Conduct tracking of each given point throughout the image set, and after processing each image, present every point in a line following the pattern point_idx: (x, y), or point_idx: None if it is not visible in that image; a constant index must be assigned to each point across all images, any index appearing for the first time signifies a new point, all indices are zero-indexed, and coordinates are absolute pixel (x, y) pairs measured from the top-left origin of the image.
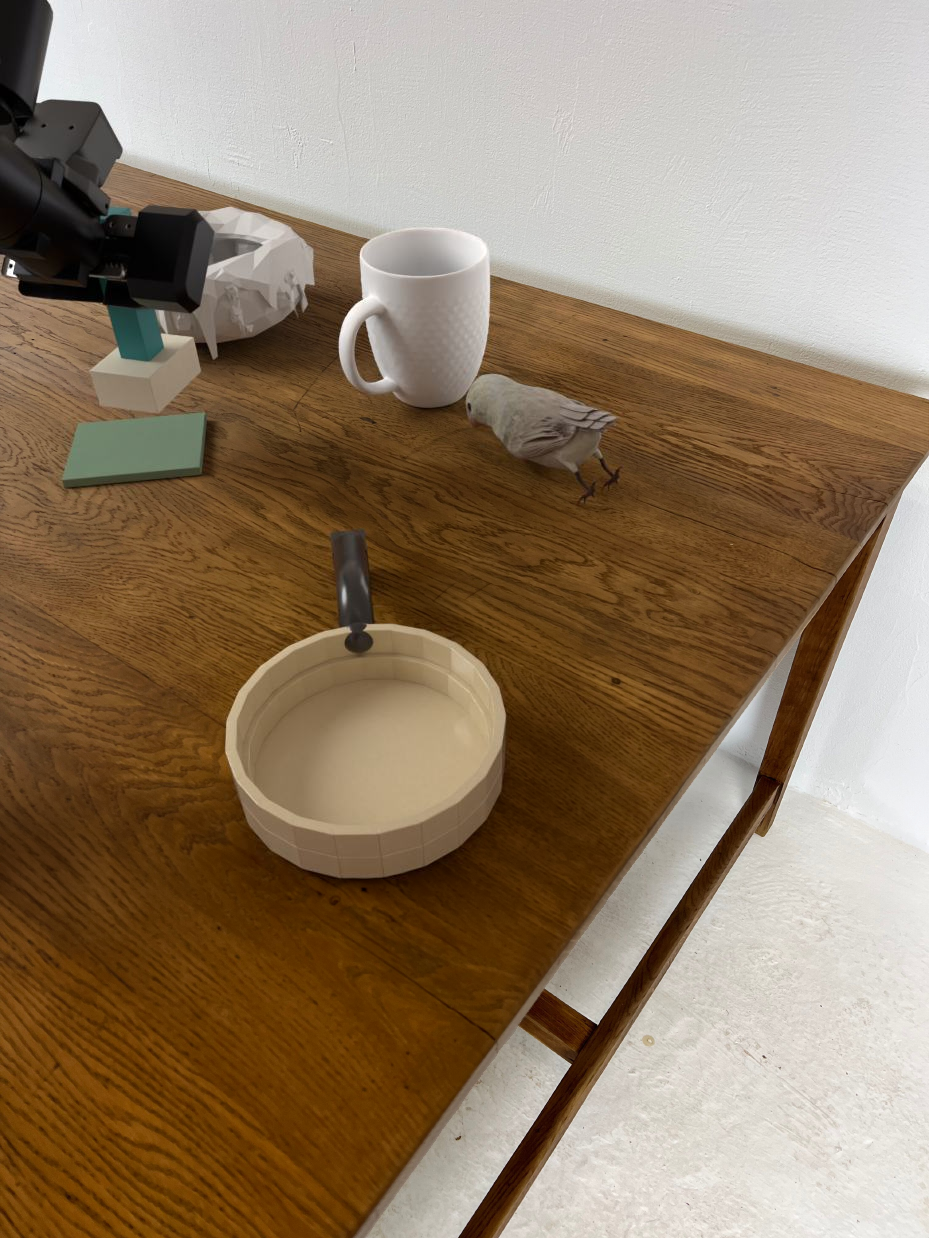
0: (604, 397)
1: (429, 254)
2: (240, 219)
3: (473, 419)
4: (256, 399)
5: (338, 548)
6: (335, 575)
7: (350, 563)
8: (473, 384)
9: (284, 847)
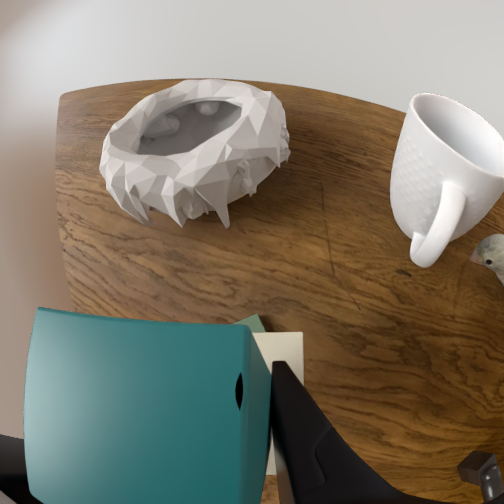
0: (494, 206)
1: (429, 114)
2: (199, 86)
3: (483, 265)
4: (288, 267)
5: (491, 488)
6: (486, 501)
7: (499, 494)
8: (498, 248)
9: None
